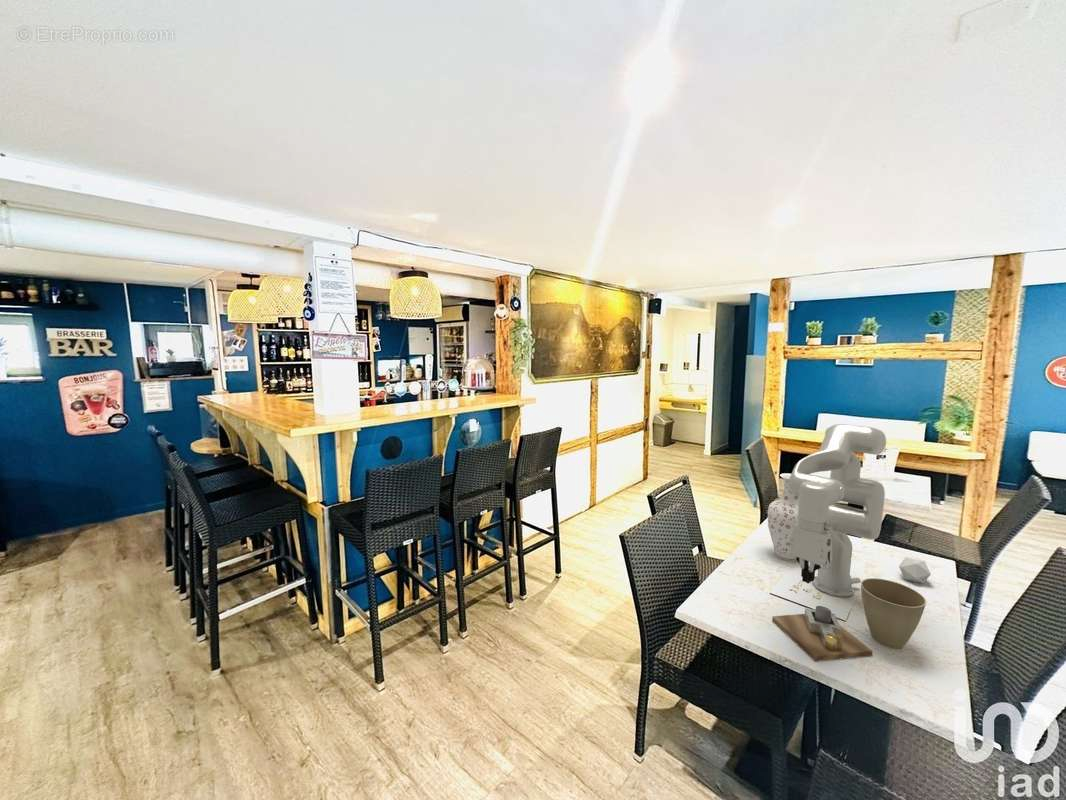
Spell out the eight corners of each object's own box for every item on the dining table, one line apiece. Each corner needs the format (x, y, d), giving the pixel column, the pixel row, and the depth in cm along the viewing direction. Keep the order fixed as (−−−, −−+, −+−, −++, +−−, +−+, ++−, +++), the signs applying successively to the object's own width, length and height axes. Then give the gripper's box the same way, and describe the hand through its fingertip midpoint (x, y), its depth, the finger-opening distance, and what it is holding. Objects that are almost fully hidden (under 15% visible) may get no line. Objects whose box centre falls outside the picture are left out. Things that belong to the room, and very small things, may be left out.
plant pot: (849, 620, 137) (854, 574, 135) (907, 631, 132) (912, 584, 130) (865, 650, 124) (870, 599, 122) (930, 664, 118) (936, 611, 116)
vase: (818, 565, 172) (825, 482, 168) (779, 566, 171) (786, 482, 167) (791, 546, 188) (797, 470, 184) (756, 547, 187) (762, 471, 183)
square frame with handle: (804, 616, 137) (805, 606, 136) (833, 622, 133) (834, 612, 133) (814, 646, 123) (815, 635, 122) (847, 654, 120) (849, 642, 119)
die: (919, 590, 155) (940, 570, 154) (893, 570, 161) (913, 551, 159) (915, 588, 162) (935, 569, 161) (890, 569, 167) (909, 551, 166)
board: (822, 616, 139) (824, 595, 138) (872, 655, 121) (874, 631, 121) (772, 620, 137) (773, 599, 136) (815, 661, 119) (817, 636, 118)
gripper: (846, 529, 121) (841, 589, 124) (792, 512, 134) (788, 566, 136) (834, 536, 117) (829, 597, 120) (779, 518, 130) (775, 573, 132)
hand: (807, 580), depth 128 cm, fingers closed
